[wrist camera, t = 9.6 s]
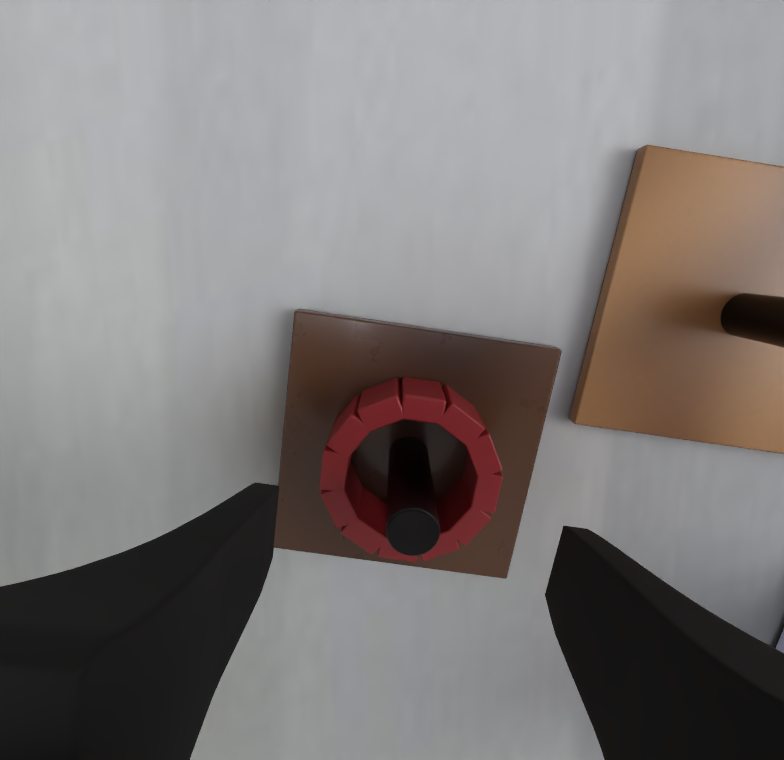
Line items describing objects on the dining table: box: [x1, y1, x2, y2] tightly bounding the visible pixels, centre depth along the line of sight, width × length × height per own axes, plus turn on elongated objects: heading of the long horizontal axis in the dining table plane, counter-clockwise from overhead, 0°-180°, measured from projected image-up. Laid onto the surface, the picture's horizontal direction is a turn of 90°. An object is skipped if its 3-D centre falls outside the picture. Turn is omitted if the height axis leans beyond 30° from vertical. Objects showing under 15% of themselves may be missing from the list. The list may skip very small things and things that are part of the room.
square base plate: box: [274, 309, 561, 578], centre depth 15 cm, size 9×9×6 cm
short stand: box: [569, 145, 784, 454], centre depth 14 cm, size 9×9×4 cm
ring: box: [319, 377, 503, 562], centre depth 16 cm, size 6×6×2 cm
